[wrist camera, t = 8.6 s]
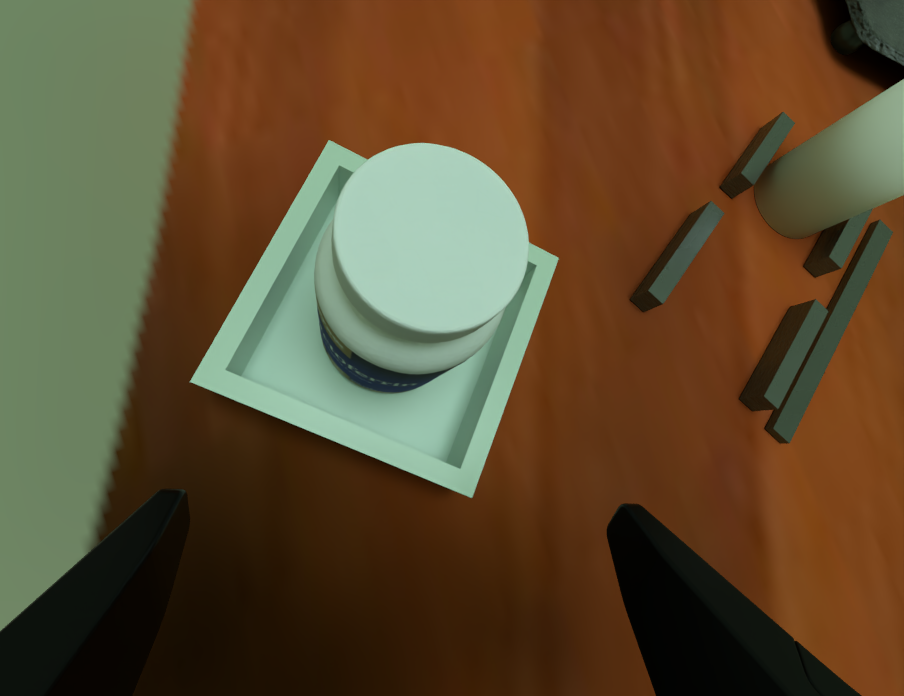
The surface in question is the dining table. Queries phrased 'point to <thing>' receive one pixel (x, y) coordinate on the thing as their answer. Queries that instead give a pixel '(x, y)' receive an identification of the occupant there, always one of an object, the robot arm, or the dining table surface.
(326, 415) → the tray
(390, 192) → the pill bottle
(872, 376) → the dining table surface
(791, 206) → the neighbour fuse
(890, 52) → the serving board
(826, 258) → the set of grey bars
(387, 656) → the dining table surface
